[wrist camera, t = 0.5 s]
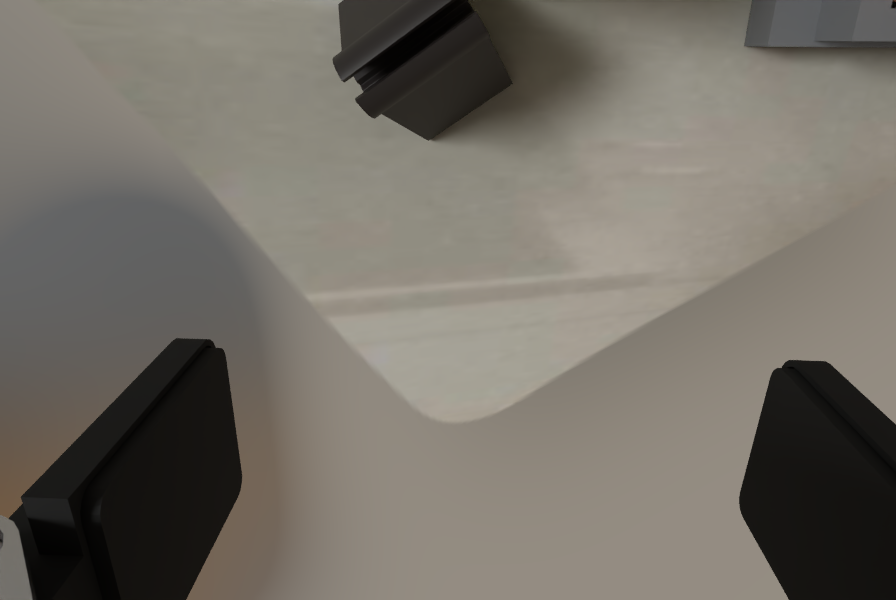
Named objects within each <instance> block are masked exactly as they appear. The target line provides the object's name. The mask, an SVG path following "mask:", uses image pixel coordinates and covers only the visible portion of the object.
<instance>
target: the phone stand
mask: <svg viewBox="0 0 896 600" xmlns="http://www.w3.org/2000/svg"><path fill="white" fill-rule="evenodd" d="M338 5H339V19H340V33H341V47H342V51H341V52H340V53H339V54H337V55H336V56H335V57H333V64H334V66H335V69H336V71H337V73H338V75H339V77H340V78H341V80H342V81H343V82H346V81H347V80H349V79H350V78H351V77H353V76H354V78H355V80H356V82H358V83H359V84H360V85H361V88H362V90H363V93H362V94H361V95H359V96H358V97H356V98H355V100H356V102H357V103H358V104H359V106H360V107H361V108H362V109H363V110H364V111H365V112H366V113H367V114H368V115H369V116H370V117H372V118H376V117H378V116H379V115H380V114H383V115H384V116H386V117H388V118H390V119H391V120H393V121H395V122H397V123H398V124H400V125H402V126H404V127H405V128H407V129H409V130H411V131H412V132H414V133H416V134H418V135H419V136H421V137H423V138H425V139H426V140H428V141H429V140H430V139H431V138H433V137H434V136H436V135H437V134H439V133H440V132H442V131H443V130H445V129H446V128H448V127H449V126H451V125H452V124H454V123H455V122H457V121H458V120H459V119H461V118H462V117H464V116H465V115H467V114H468V113H470V112H471V111H473V110H474V109H476V108H477V107H479V106H480V105H482V104H483V103H485V102H486V101H487V100H489V99H490V98H492V97H493V96H495V95H496V94H498V93H499V92H501V91H502V90H504V89H505V88H507V87H508V86H510V85H511V84H513V83H512V81H511V79H510V77H509V75H508V73H507V71H506V70H505V68H504V66H503V64H502V62H501V60H500V58H499V56H498V54H497V52H496V50H495V48H494V46H493V44H492V42H491V40H490V38H489V37H490V36H489V34H488V32H487V30H486V28H485V26H484V25H483V23H482V21H481V19H480V17H479V16H478V14H477V12H476V11H475V12H474V10H473V9H472V7H471V5H470V4H469V2H468V0H343V1H342V2H341V3H339V4H338Z"/></svg>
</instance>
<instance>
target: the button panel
mask: <svg viewBox="0 0 896 600" xmlns="http://www.w3.org/2000/svg"><path fill="white" fill-rule="evenodd" d="M892 1H893V0H752V5H751V11H750V16H749V22H748V28H747V33H746V39H745V45H744V46H760V47H896V2H892Z"/></svg>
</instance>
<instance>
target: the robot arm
mask: <svg viewBox="0 0 896 600" xmlns="http://www.w3.org/2000/svg"><path fill="white" fill-rule="evenodd" d="M241 483H242V471H241V464H240V457H239V450H238V442H237V435H236V428H235V420H234V413H233V406H232V399H231V392H230V384H229V377H228V370H227V362H226V356H225V352H224V350H223V349H222V348H215V345H214V343H213V341H211V340H209V339H208V340H207V339H180V338H176V339H175V340H173V341H172V342H171V343H170V344H169V345H168V346H167V347H166V348H165V349H164V350H163V351H162V352H161V353H160V355H158V357H156V358H155V360H154V361H153V362H152V363H151V364H150V365H149V366H148V367H147V368H146V369H145V370H144V371H143V372H142V373H141V374H140V375H139V376H138V377H137V378H136V379H135V380H134V381H133V382H132V383H131V384H130V385H129V386H128V387H127V388H126V389H125V390H124V392H122V394H121V395H120V396H119V397H118V398H117V399H116V400H115V401H114V402H113V403H112V404H111V405H110V406H109V407H108V408H107V409H106V410H105V411H104V412H103V413H102V414H101V415H100V416H99V417H98V418H97V419H96V420H95V421H94V422H93V423H92V424H91V425H90V426H89V427H88V428H87V429H86V431H85V432H84V433H83V434H82V435H81V436H80V437H79V438H78V439H77V440H76V441H75V442H74V443H73V444H72V445H71V446H70V447H69V448H68V449H67V450H66V451H65V452H64V453H63V454H62V455H61V456H60V457H59V458H58V460H56V461H55V462H54V463H53V464H52V465H51V466H50V468H49V469H48V470H47V471H46V472H45V473H44V474H43V475H42V476H41V477H40V478H39V479H38V480H37V481H36V482H35V483H34V484H33V485H32V486H31V487H30V488H29V489H28V490H27V491H26V492H25V493H24V494H23V495H22V496H21V499H22V502H23V504H22V505H21V506H20V507H19V508H18V509H17V510H16V511H15V512H14V513H13V514H12V515H11V516H10V517H9V519H8V518H5V517H4V516H0V600H186V599H187V597H188V595H189V593H190V591H191V589H192V587H193V585H194V583H195V581H196V579H197V577H198V575H199V573H200V571H201V569H202V567H203V565H204V563H205V561H206V559H207V557H208V555H209V553H210V551H211V549H212V547H213V545H214V543H215V541H216V539H217V537H218V535H219V533H220V531H221V529H222V527H223V525H224V523H225V522H226V519H227V517H228V516H229V514H230V511H231V510H232V508H233V505H234V503H235V502H236V500H237V498H238V495H239V492H240V489H241ZM739 504H740V510H741V514H742V516H743V518H744V520H745V522H746V524H747V526H748V527H749V529H750V531H751V533H752V534H753V536H754V538H755V540H756V542H757V543H758V545H759V547H760V549H761V550H762V552H763V554H764V556H765V558H766V559H767V561H768V563H769V565H770V566H771V568H772V570H773V572H774V574H775V576H776V577H777V579H778V581H779V583H780V584H781V586H782V588H783V590H784V592H785V593H786V595H787V597H788V599H789V600H896V424H895V423H893V422H892V421H891V420H890V419H889V418H888V417H887V416H886V415H885V414H883V412H882V411H880V410H879V409H878V408H877V407H876V406H875V405H874V404H873V403H871V401H870V400H868V399H867V398H866V397H865V396H864V395H863V394H862V393H861V392H860V391H859V390H858V389H856V387H854V386H853V385H852V384H851V383H850V382H849V381H848V380H847V379H846V378H845V377H843V376H842V375H841V374H840V373H839V372H838V371H837V370H836V369H835V368H834V367H833V366H832V365H831V364H829V363H827V362H824V361H801V360H789V361H787V362H785V363H784V365H783V366H782V368H777V369H775V370H774V371H773V372H772V375H771V377H770V381H769V385H768V389H767V392H766V396H765V400H764V404H763V408H762V412H761V415H760V419H759V423H758V427H757V430H756V434H755V438H754V442H753V446H752V449H751V453H750V457H749V461H748V465H747V469H746V472H745V476H744V480H743V484H742V488H741V491H740V497H739Z"/></svg>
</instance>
